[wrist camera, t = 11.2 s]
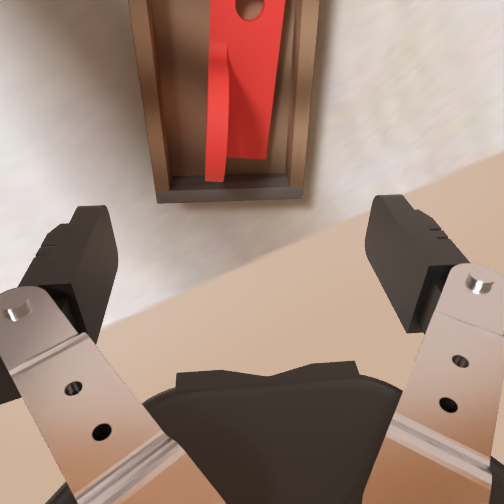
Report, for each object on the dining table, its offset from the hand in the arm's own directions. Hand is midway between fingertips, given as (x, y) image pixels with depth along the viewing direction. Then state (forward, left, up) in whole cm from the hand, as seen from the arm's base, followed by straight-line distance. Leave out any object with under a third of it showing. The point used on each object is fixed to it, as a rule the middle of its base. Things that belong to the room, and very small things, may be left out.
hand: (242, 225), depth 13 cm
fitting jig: (0, 0, -20) cm, 20 cm away
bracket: (0, +1, -20) cm, 20 cm away
